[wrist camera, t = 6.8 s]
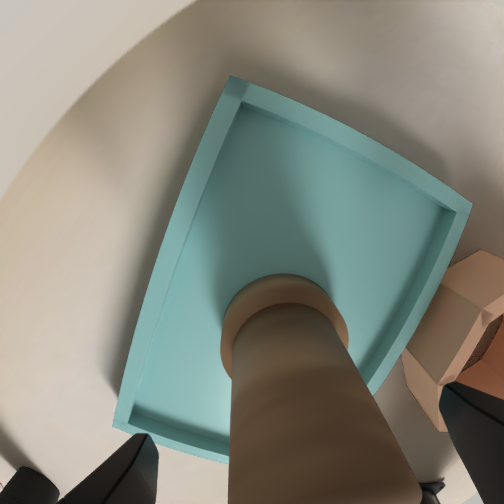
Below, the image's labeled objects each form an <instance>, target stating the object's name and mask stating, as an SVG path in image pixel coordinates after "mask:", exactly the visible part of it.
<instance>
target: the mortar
mask: <svg viewBox="0 0 504 504" xmlns="http://www.w3.org/2000/svg"><path fill="white" fill-rule="evenodd" d="M502 314H503V321H502V323H501V325H500V327H499V329H498V331H497V333H496V335H495V336H494V338H493V340H492V342H491V344H490V345H489V347H488V349H487V351H486V352H485V354H484V356H483V357H482V359H481V360H480V361H478V362H477V363H475V364H474V365H472V366H471V367H469V368H467V369H466V370H464V371H463V372H461V370H462V369H463V367H464V365H465V364H466V362H467V361H468V359H469V357H470V356H471V354H472V352H473V351H474V349H475V347H476V346H477V344H478V342H479V340H480V339H481V337H482V335H483V333H484V332H485V330H486V328H487V326H488V324H489V323H490V322H492V321H493V320H495V319H496V318H497V317H499V316H500V315H502ZM401 355H402V361H403V367H404V372H405V378H406V386H407V387H408V388H409V390H410V391H411V393H412V394H413V396H414V397H415V398H416V400H417V401H418V403H419V404H420V406H421V407H422V408H423V410H424V411H425V413H426V414H427V416H428V417H429V419H430V420H431V422H432V423H433V425H434V426H435V427H436V429H437V430H438V432H439V431H440V432H448V430H447V427H446V425H445V423H444V420H443V418H442V416H441V413H440V411H439V406H438V405H439V400H440V396H441V392H442V388H443V386H444V385H445V384H447V383H450V382H452V381H457V382H460V383H462V384H465V385H467V386H470V387H472V388H475V389H477V390H480V391H482V392H485V393H488V394H490V395H493V396H496V397H498V398H501V399H503V400H504V259H502V258H500V257H498V256H495V255H493V254H490V253H488V252H485V251H483V250H479V251H477V252H476V253H474V254H472V255H470V256H469V257H467V258H465V259H463V260H462V261H460V262H458V263H456V264H454V265H453V266H451V267H449V268H447V270H446V272H445V274H444V276H443V278H442V280H441V282H440V284H439V286H438V288H437V290H436V292H435V294H434V296H433V298H432V300H431V302H430V304H429V306H428V308H427V310H426V312H425V314H424V315H423V317H422V319H421V321H420V323H419V324H418V326H417V328H416V330H415V332H414V333H413V335H412V337H411V338H410V340H409V342H408V344H407V345H406V347H405V349H404V350H403V352H402V353H401ZM460 372H461V373H460ZM459 373H460V374H459Z"/></svg>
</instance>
